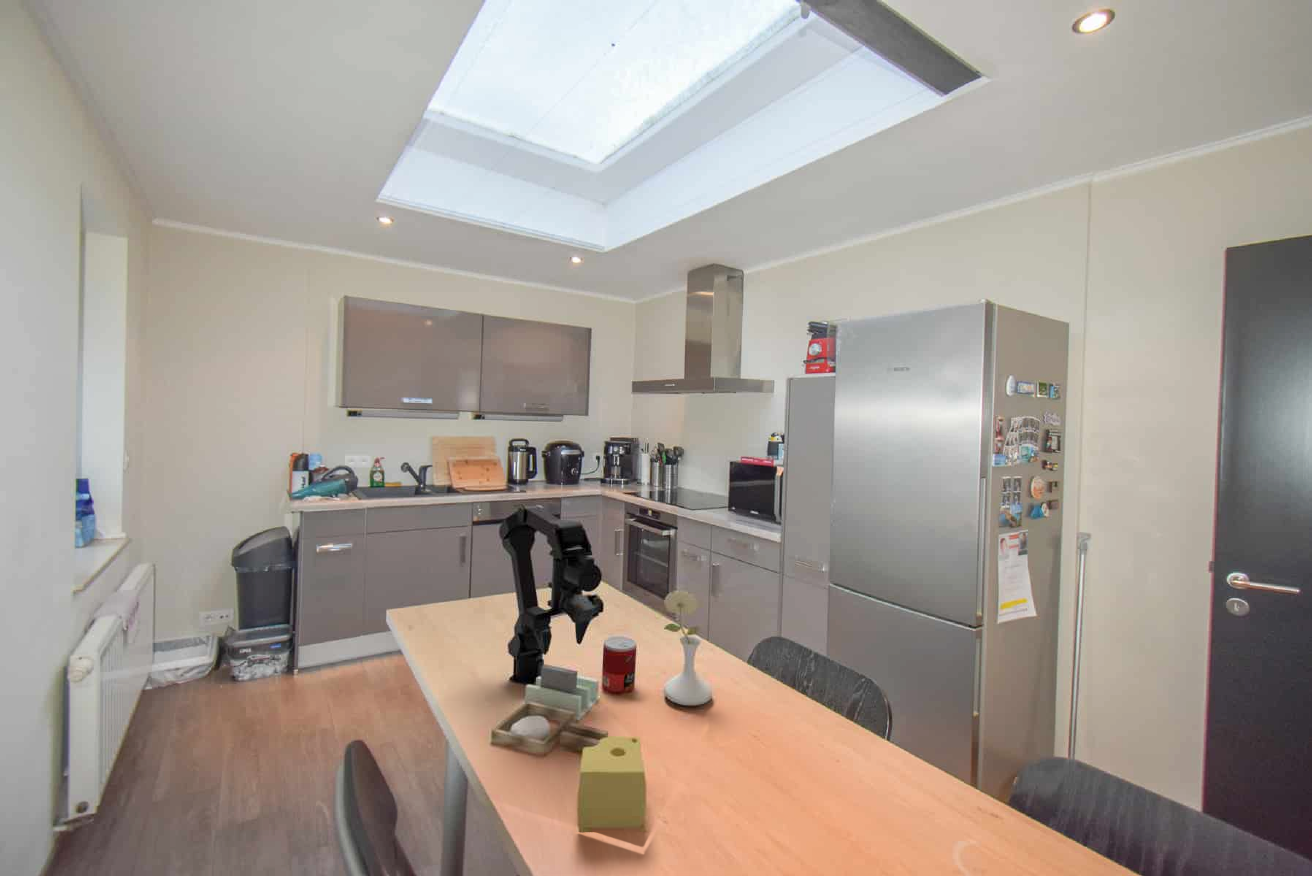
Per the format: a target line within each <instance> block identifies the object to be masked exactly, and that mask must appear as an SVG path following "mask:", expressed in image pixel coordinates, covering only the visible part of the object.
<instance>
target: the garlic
mask: <svg viewBox="0 0 1312 876" xmlns="http://www.w3.org/2000/svg"><path fill="white" fill-rule="evenodd" d="M509 732H510V733H514V734H518V735H521V736H525V737H529V738H533V739H536V740H540V741H543V740H544V739H545V738H546V737H547V736H548V735H549V734H550V733H551V732H552V728H551V724H550V722H549V721H548V720H547V718H544V717H542V716H535V715H528V716H525V717H524V718H522V719H521V720H519V721H518V722H516V723H514V724H513V725H512V727H511V729H510V730H509Z"/></svg>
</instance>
